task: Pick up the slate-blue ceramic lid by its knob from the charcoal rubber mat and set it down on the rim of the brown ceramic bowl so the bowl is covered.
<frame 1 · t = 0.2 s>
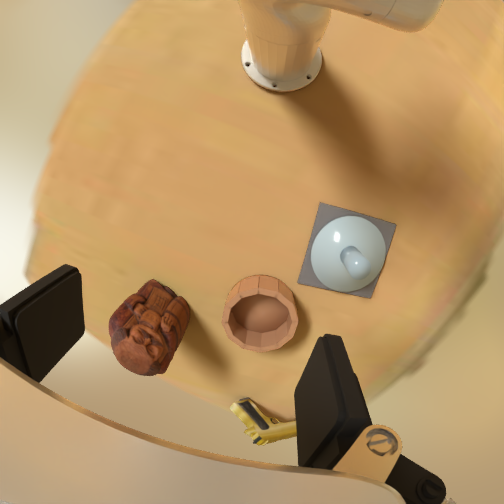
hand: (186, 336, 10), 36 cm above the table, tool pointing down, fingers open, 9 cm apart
bowl: (261, 306, 50), on the table
lid: (348, 253, 45), resting on mat
mat: (347, 253, 46), on the table
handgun: (274, 409, 59), on the table
wooden figurine: (167, 302, 51), on the table
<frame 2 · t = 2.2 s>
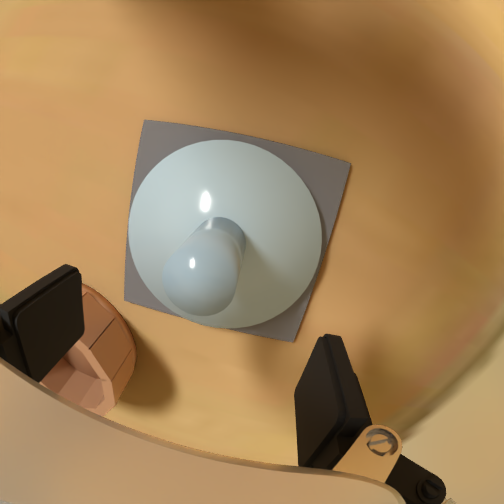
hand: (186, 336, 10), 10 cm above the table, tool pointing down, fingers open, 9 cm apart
bowl: (84, 334, 23), on the table
lid: (222, 238, 19), resting on mat
mat: (222, 237, 19), on the table
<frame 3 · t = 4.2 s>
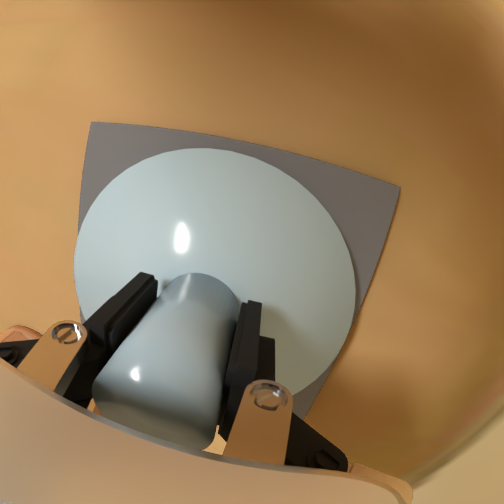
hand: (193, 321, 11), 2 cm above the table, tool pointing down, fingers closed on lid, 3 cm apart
bowl: (51, 386, 17), on the table
lid: (204, 299, 13), resting on mat, touching gripper
mat: (206, 295, 13), on the table
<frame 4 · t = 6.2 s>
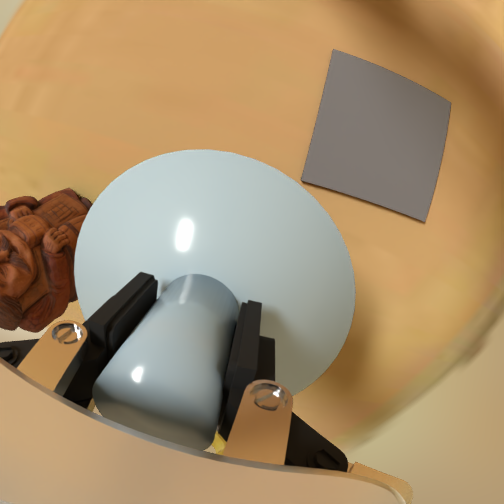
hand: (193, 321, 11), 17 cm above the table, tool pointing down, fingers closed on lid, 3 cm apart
lid: (204, 300, 13), point 16 cm above the table, touching gripper
mat: (385, 134, 23), on the table
wooden figurine: (87, 226, 29), on the table
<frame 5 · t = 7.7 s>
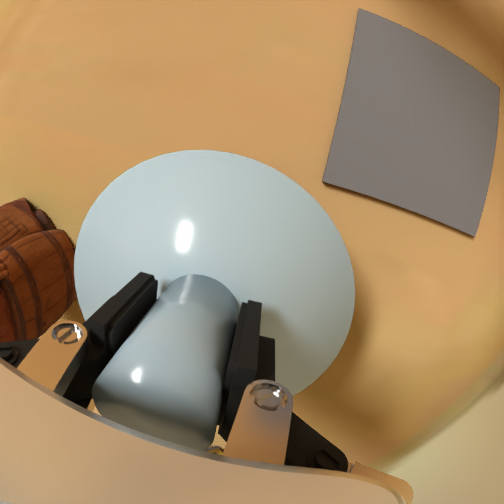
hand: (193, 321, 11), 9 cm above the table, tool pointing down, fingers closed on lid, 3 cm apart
lid: (204, 300, 13), point 7 cm above the table, touching gripper
mat: (431, 121, 16), on the table
wooden figurine: (46, 245, 21), on the table
when the fingers open (8 cm above the table, at t = 8.6 s): lid stays where it is, resting on bowl.
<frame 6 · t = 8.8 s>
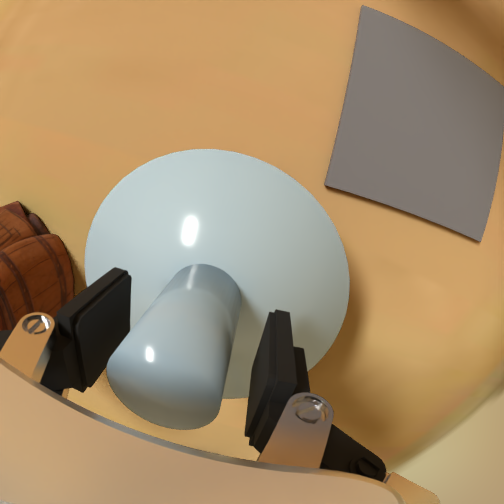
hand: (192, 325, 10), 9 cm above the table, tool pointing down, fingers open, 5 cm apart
lid: (208, 290, 13), point 5 cm above the table, touching bowl
mat: (436, 122, 15), on the table
wooden figurine: (40, 250, 20), on the table
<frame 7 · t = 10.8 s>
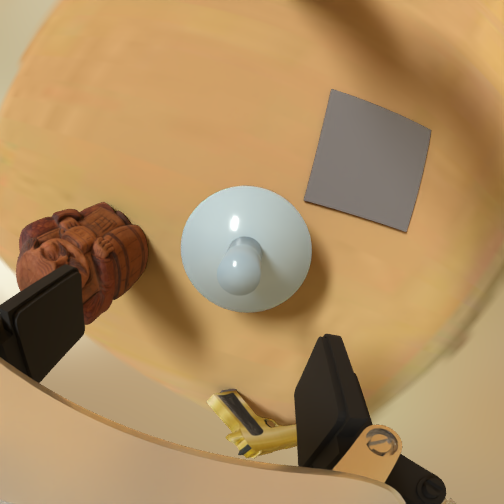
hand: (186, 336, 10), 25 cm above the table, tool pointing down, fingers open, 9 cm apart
lid: (245, 250, 29), point 5 cm above the table, touching bowl
mat: (373, 161, 30), on the table
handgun: (270, 407, 42), on the table
wooden figurine: (120, 236, 35), on the table
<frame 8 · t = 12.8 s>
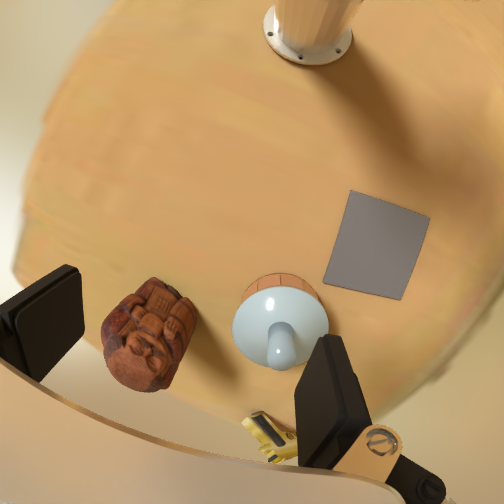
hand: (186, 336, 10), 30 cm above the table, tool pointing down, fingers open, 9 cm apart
bowl: (279, 309, 43), on the table
lid: (280, 328, 38), point 5 cm above the table, touching bowl
mat: (379, 249, 39), on the table
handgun: (289, 423, 52), on the table
wooden figurine: (170, 304, 44), on the table
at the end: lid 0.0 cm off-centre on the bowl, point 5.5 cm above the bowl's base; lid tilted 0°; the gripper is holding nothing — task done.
